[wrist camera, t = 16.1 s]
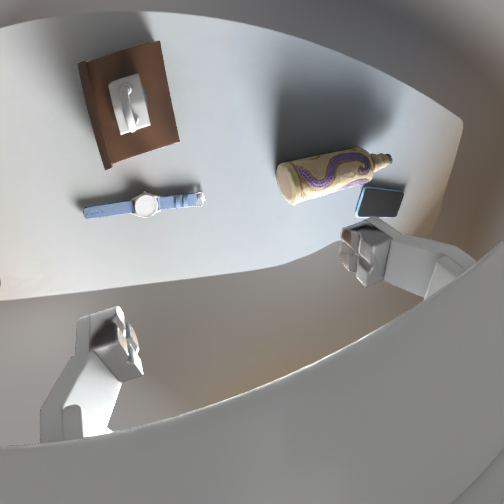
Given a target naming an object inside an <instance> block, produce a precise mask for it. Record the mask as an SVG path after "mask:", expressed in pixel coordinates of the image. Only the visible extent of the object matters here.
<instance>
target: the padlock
mask: <svg viewBox="0 0 504 504" xmlns="http://www.w3.org/2000/svg"><path fill="white" fill-rule="evenodd" d="M108 86H109V91H110V95H111V100H112V104H113V108H114V112H115V116H116V119H117V123H118V126H119V130H120V133H121V135H122V134H125V133H128V132H135V131H136V130H137V129H140V128H143V127H146V126H149V125H150V120H149V116H148V106H147V103H148V101H147V96H146V93H145V91H144V88H143V85H142V83H141V80H140V77H139V74H138V73H137V74H134V75H130V76H127V77H124V78H121V79H118V80H115V81H112V82H111V83H110V84H109V85H108Z"/></svg>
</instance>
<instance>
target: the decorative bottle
mask: <svg viewBox="0 0 504 504" xmlns="http://www.w3.org/2000/svg"><path fill="white" fill-rule="evenodd" d="M391 163H392V158H391V155H389V154H382V153H381V154H378V155H376V154H369V153H368V152H367V151H366V150H364V149H363V148H353V149H348V150H343V151H337V152H333V153H328V154H322V155H318V156H312V157H309V158H304V159H299V160H295V161H289V162H283V163H280V164H279V165H278V167H277V170H276V177H277V184H278V187H279V190H280V192H281V194H282V197H283V198H284V199H285V200H286V201H287V202H288V203H289V204H290V205H295V204H297V203H298V202H301V201H305V200H308V199H312V198H316V197H319V196H322V195H326V194H329V193H333V192H337V191H340V190H343V189H347V188H350V187H354V186H357V185H362V184H365V183H367V182H369V181H370V180H371V179H372V177H373V172H376V171H378V170H379V169H380V168H383V167H386V166H388V165H389V164H391Z"/></svg>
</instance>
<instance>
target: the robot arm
mask: <svg viewBox="0 0 504 504" xmlns="http://www.w3.org/2000/svg"><path fill="white" fill-rule="evenodd" d="M341 239H342V240H343V243H342V245H341V247H340V257H341V261H342V263H343V265H344V266H345V267H346V268H347V269H348V270H349V271H353V272H355V273H356V278H357V279H358V280H359V281H360V282H361V283H362V284H363V285H364V286H365V287H369V286H371V285H373V284H375V283H377V282H379V281H381V280H384V281H385V282H388V283H391V284H393V285H395V286H397V287H400V288H402V289H404V290H407V291H409V292H412V293H414V294H417V295H419V296H421V297H423V298H424V300H423V301H422V302H420V303H419V304H417V305H416V306H414V307H413V308H411V309H410V310H408V311H407V312H405V313H403V314H402V315H400V316H398V317H397V318H395V319H394V320H392V321H390V322H389V323H387V324H385V325H383V326H382V327H380V328H378V329H377V330H375V331H373V332H372V333H370V334H368V335H366V336H364V337H363V338H361V339H359V340H357V341H355V342H354V343H352V344H350V345H348V346H346V347H344V348H343V349H340V350H339V351H337V352H334V353H332V354H330V355H329V356H327V357H325V358H322V359H321V360H318V361H317V362H314V363H312V364H310V365H308V366H306V367H304V368H302V369H299V370H297V371H295V372H293V373H291V374H288V375H286V376H284V377H281V378H279V379H277V380H275V381H272V382H270V383H268V384H265V385H263V386H260V387H258V388H256V389H253V390H250V391H248V392H245V393H243V394H240V395H237V396H234V397H232V398H229V399H226V400H224V401H221V402H218V403H215V404H212V405H209V406H206V407H203V408H200V409H197V410H194V411H191V412H188V413H184V414H181V415H178V416H175V417H171V418H167V419H164V420H160V421H157V422H153V423H149V424H145V425H141V426H137V427H133V428H129V429H125V430H120V431H115V432H112V431H111V430H109V429H108V428H107V424H108V421H109V418H110V415H111V412H112V409H113V406H114V404H115V401H116V398H117V395H118V392H119V389H120V387H121V383H122V382H125V381H128V380H131V379H134V378H137V377H140V376H143V371H142V365H141V360H140V358H139V357H138V355H137V352H138V350H139V346H138V341H137V338H136V335H135V332H134V330H133V328H132V326H131V325H130V323H128V322H126V321H125V317H124V313H123V311H122V310H121V308H120V307H119V306H116V307H112V308H109V309H106V310H103V311H100V312H97V313H93V314H91V315H87V316H84V317H81V318H79V319H78V321H77V330H76V344H75V356H72V357H71V358H70V360H69V361H68V363H67V365H66V366H65V368H64V370H63V371H62V373H61V374H60V376H59V378H58V379H57V381H56V383H55V385H54V386H53V388H52V390H51V391H50V393H49V395H48V397H47V398H46V400H45V402H44V404H43V406H42V407H41V409H40V443H38V444H27V445H11V446H0V504H504V240H503V241H502V242H501V243H499V244H498V245H497V246H496V247H495V248H494V249H492V250H491V251H490V252H489V253H487V254H486V255H485V256H484V257H483V258H481V259H480V260H479V261H478V262H477V261H475V260H474V259H473V258H472V257H470V256H469V255H468V254H466V253H465V252H464V251H462V250H461V249H460V248H458V247H456V246H453V245H449V244H445V243H441V242H437V241H433V240H429V239H425V238H421V237H417V236H413V235H409V234H404V235H403V234H401V233H400V232H398V231H397V230H395V229H394V228H393V227H391V226H390V225H388V224H387V223H385V222H384V221H382V220H381V219H379V218H378V217H374V216H373V217H370V218H368V219H365V220H363V221H361V222H358V223H355V224H353V225H350V226H347V227H344V228H343V229H342V231H341Z"/></svg>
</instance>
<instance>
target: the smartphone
mask: <svg viewBox="0 0 504 504" xmlns="http://www.w3.org/2000/svg"><path fill="white" fill-rule="evenodd" d="M403 196H404V192H403V191H399V190H391V189H383V188H376V187H364V188H363V190H362V193H361V196H360V200H359V203H358V206H357V209H356V213H355V215H356V216H357V217H373V216H374V217H378V218H395V217H396V216H397V213H398V211H399V208H400V205H401V202H402V199H403Z"/></svg>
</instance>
